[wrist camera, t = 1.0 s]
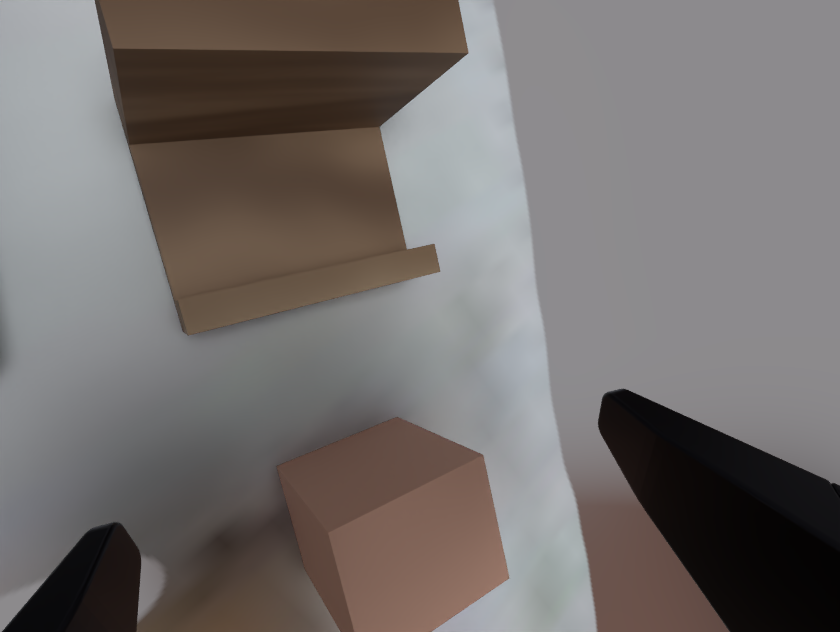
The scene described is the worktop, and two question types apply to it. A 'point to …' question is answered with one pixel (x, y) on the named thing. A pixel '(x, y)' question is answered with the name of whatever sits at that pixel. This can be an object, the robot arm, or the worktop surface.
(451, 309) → the worktop surface
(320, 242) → the board
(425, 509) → the cabinet block
